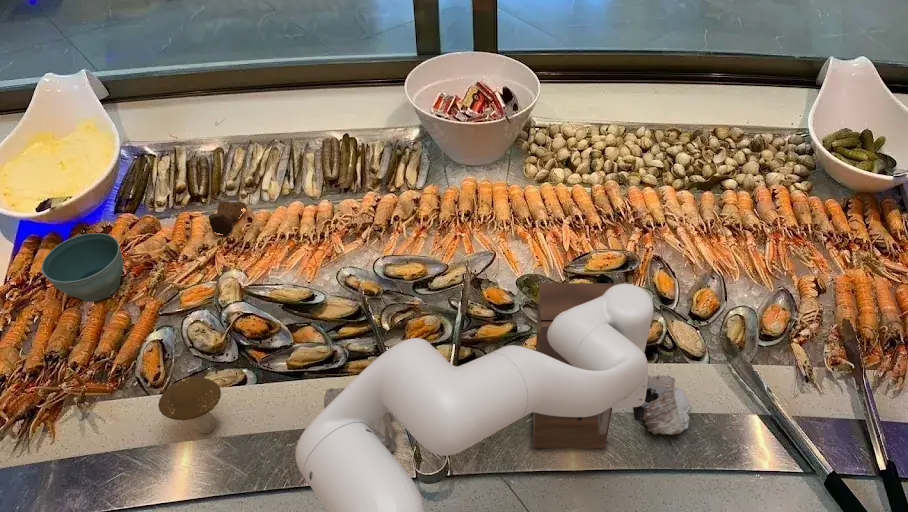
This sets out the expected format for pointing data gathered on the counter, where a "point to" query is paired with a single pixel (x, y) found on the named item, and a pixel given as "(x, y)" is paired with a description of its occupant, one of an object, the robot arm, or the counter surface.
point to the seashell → (668, 410)
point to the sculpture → (226, 217)
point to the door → (568, 418)
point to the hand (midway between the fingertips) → (607, 413)
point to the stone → (380, 429)
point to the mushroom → (192, 402)
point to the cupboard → (564, 302)
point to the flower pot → (85, 266)
